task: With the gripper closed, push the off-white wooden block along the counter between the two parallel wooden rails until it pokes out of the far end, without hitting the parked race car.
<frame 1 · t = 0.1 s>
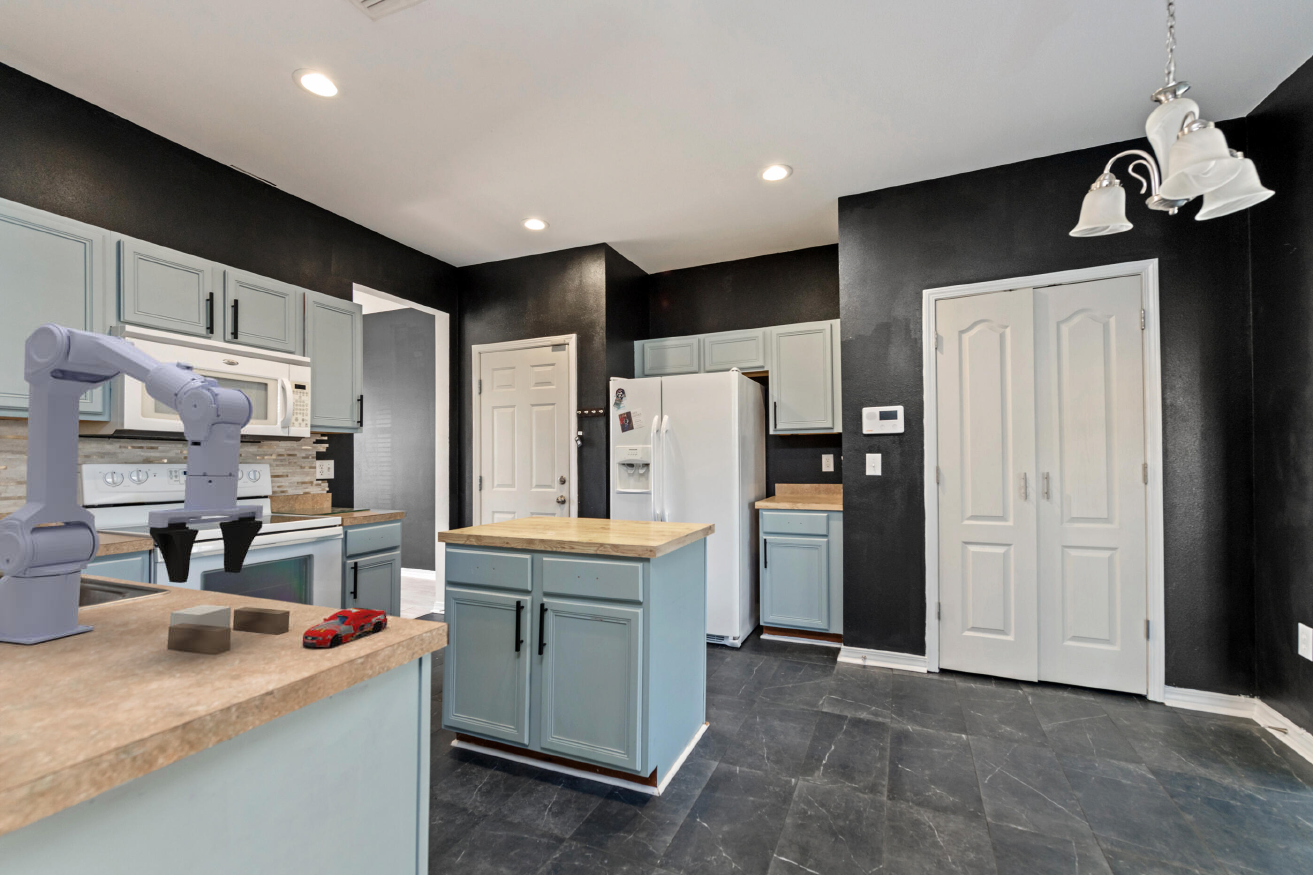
hand: (206, 576, 82), 10 cm above the counter, fingers open, 7 cm apart
race car: (345, 639, 90), on the counter
parallel wooden rails: (231, 639, 87), on the counter
off-white block: (199, 637, 89), on the counter
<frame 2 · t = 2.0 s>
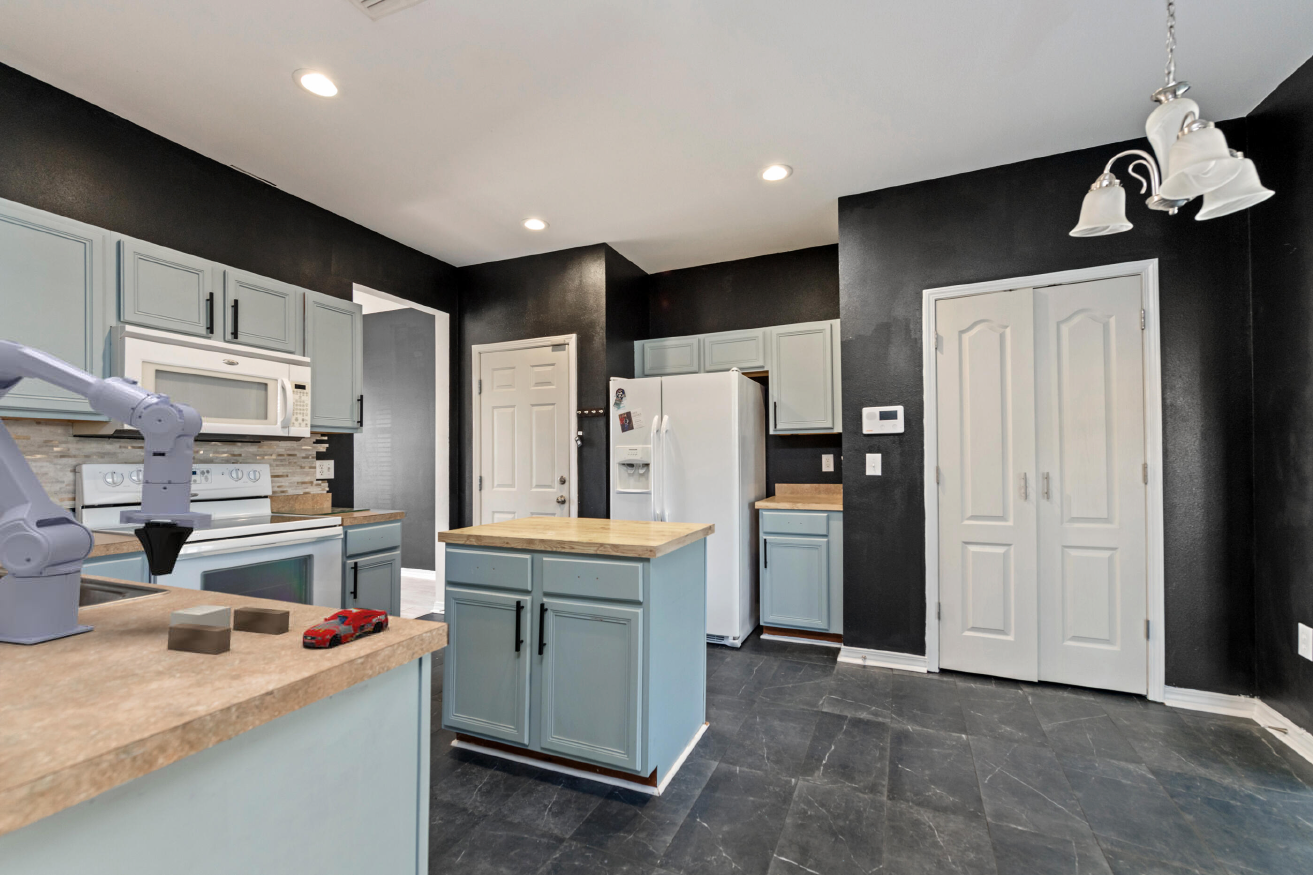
hand: (161, 574, 91), 8 cm above the counter, fingers closed
nothing on the counter moved.
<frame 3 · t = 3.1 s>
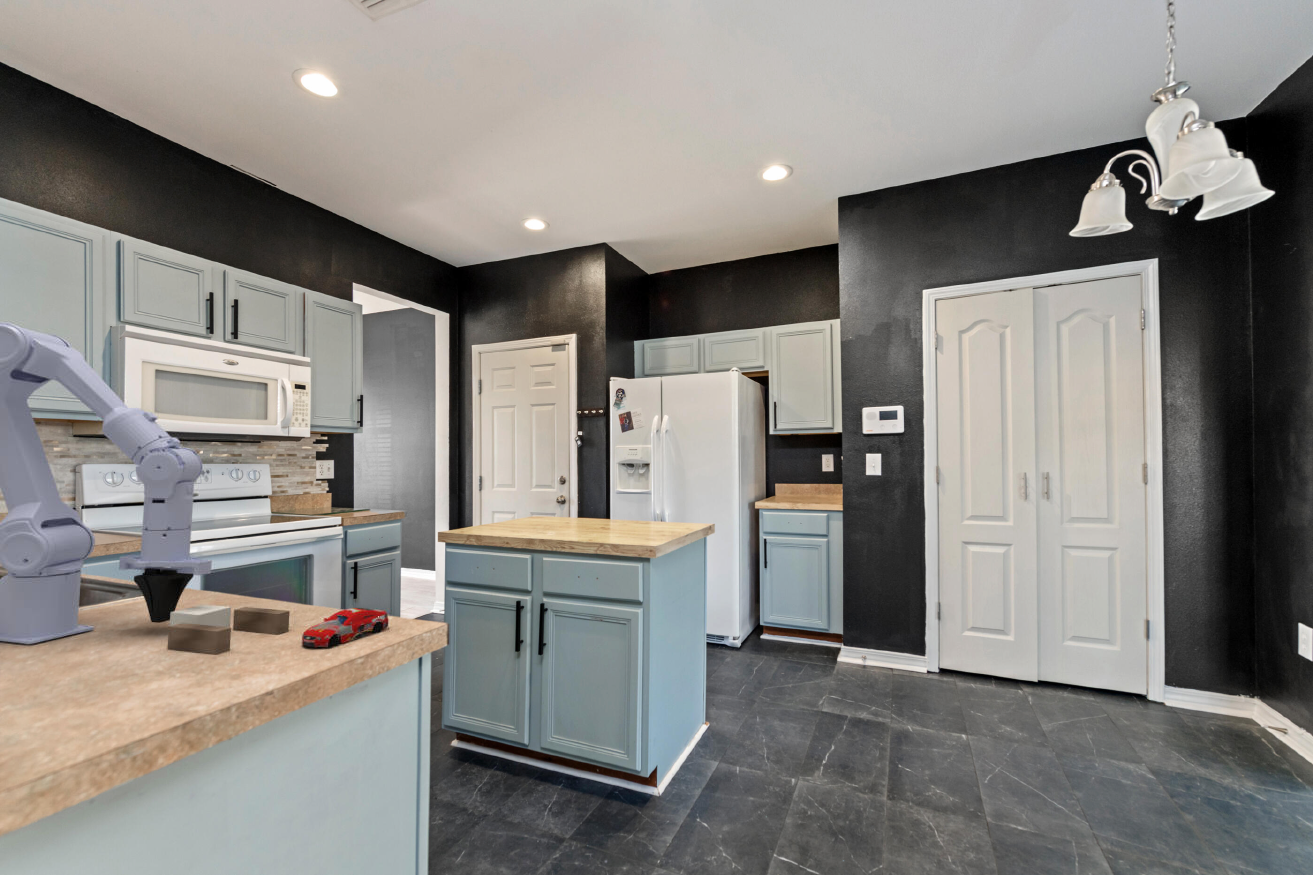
hand: (161, 620, 90), 2 cm above the counter, fingers closed
nothing on the counter moved.
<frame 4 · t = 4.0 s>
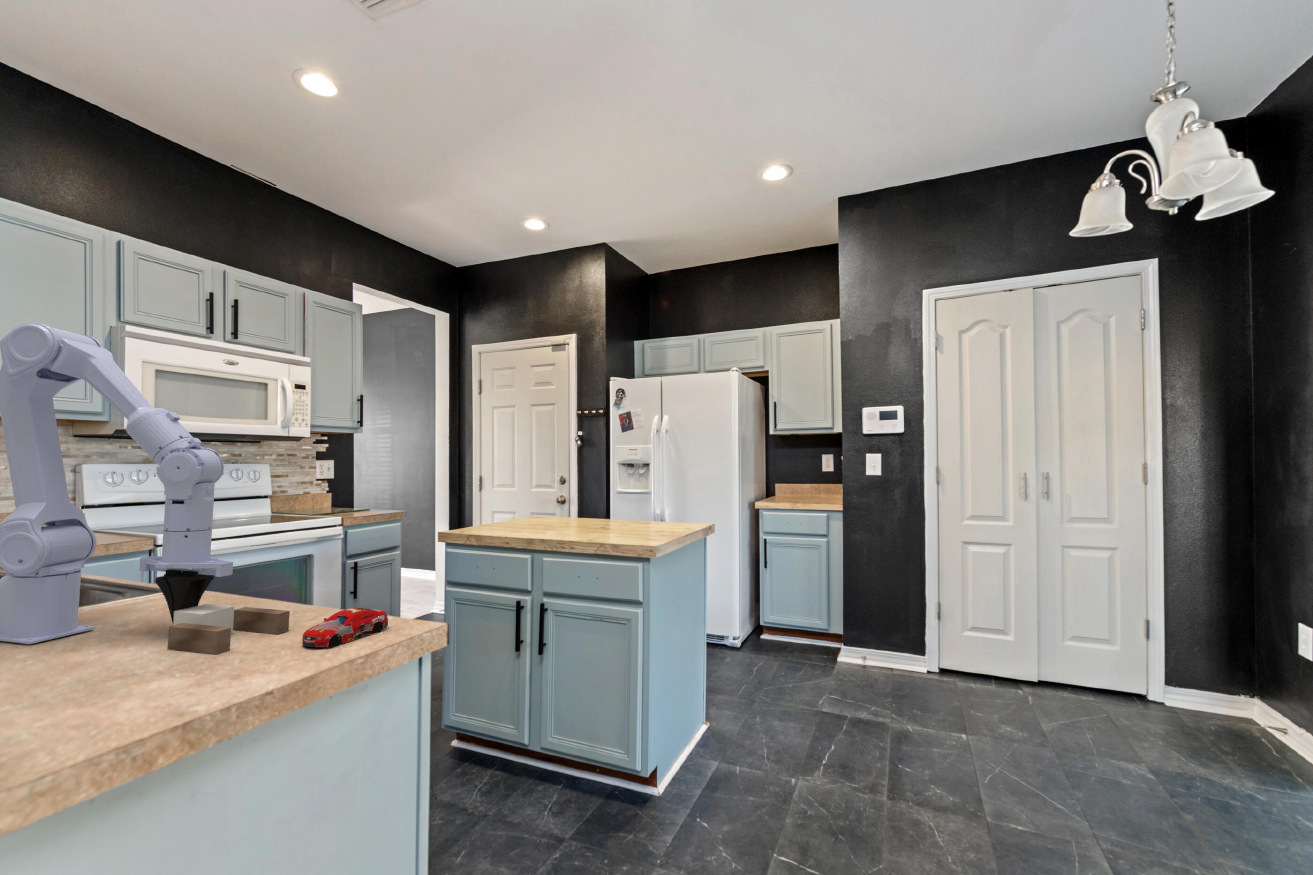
hand: (182, 622, 89), 2 cm above the counter, fingers closed
off-white block: (203, 636, 88), on the counter, touching gripper
everything else where it was.
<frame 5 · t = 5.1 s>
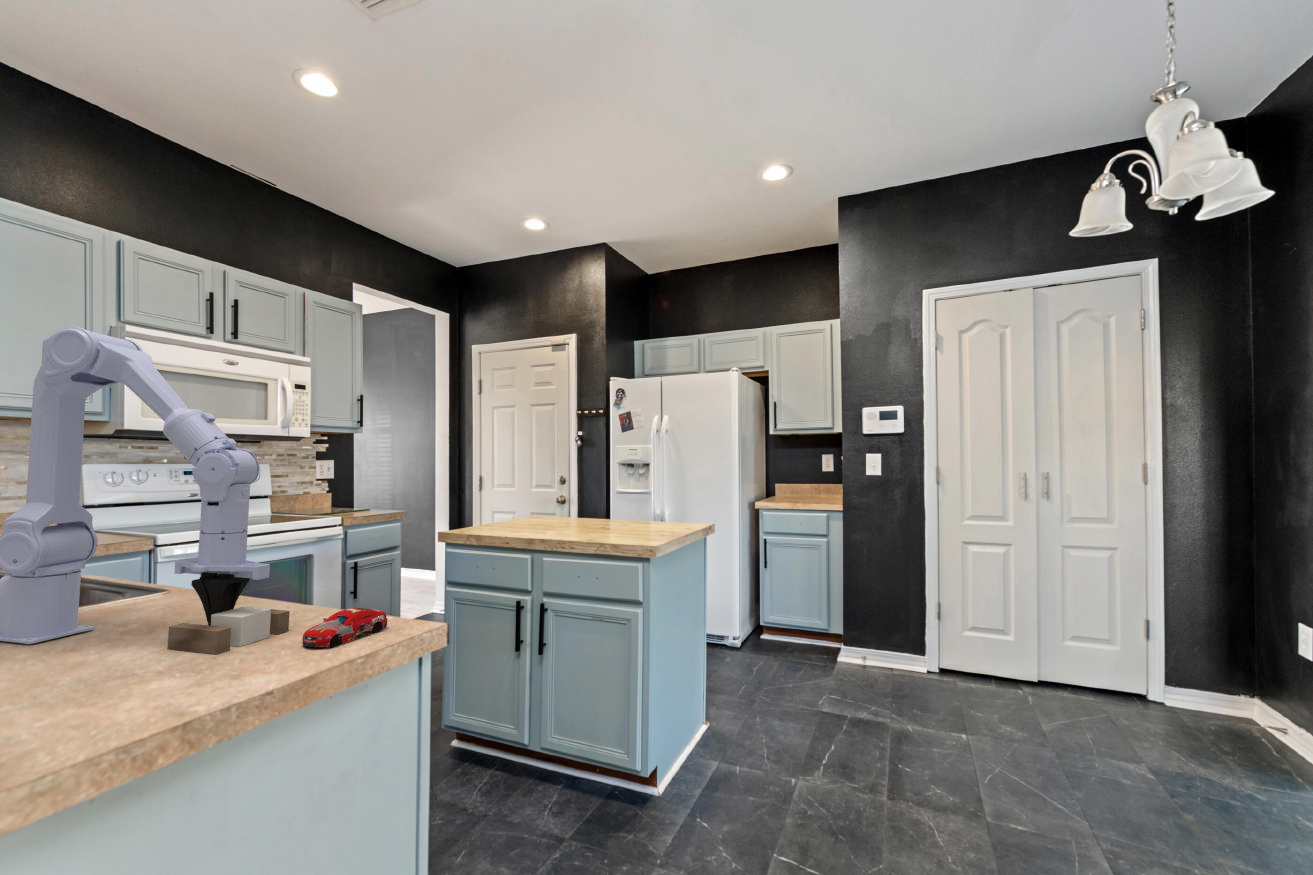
hand: (218, 626, 88), 2 cm above the counter, fingers closed
off-white block: (240, 640, 87), on the counter, touching gripper
everything else where it was.
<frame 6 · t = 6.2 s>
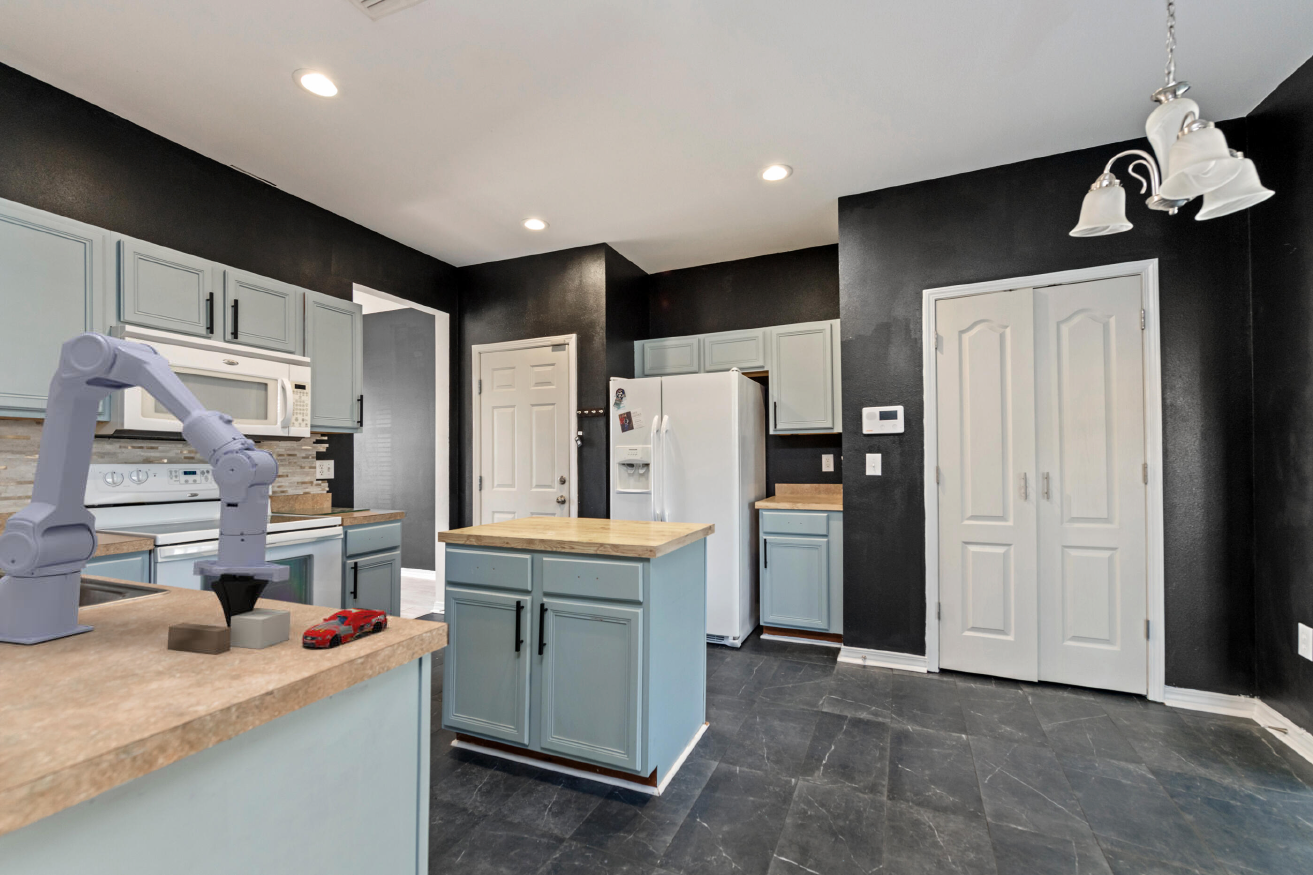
hand: (237, 628, 87), 2 cm above the counter, fingers closed
off-white block: (259, 642, 86), on the counter, touching gripper
everything else where it was.
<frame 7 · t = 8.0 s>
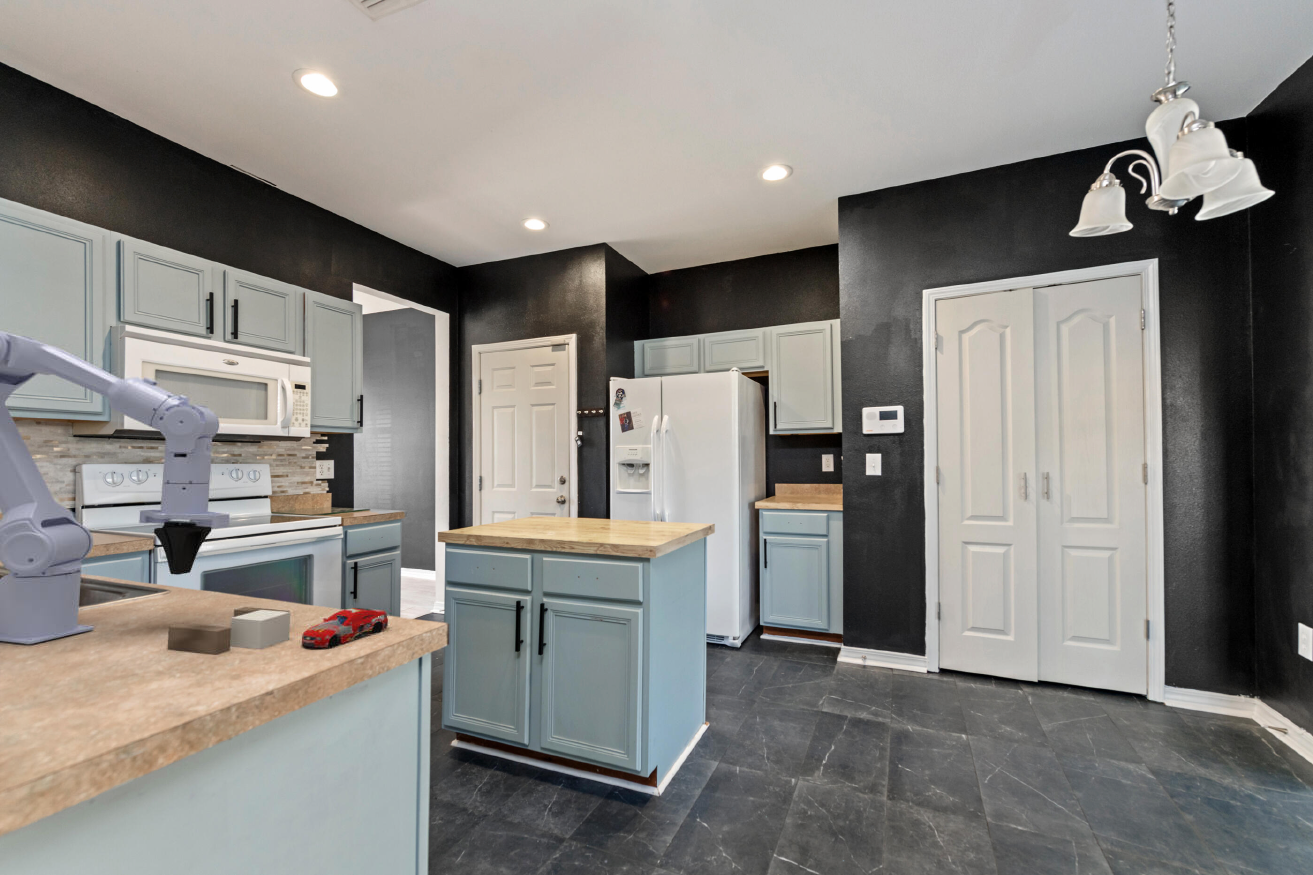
hand: (180, 573, 92), 8 cm above the counter, fingers closed
off-white block: (259, 643, 86), on the counter
everything else where it was.
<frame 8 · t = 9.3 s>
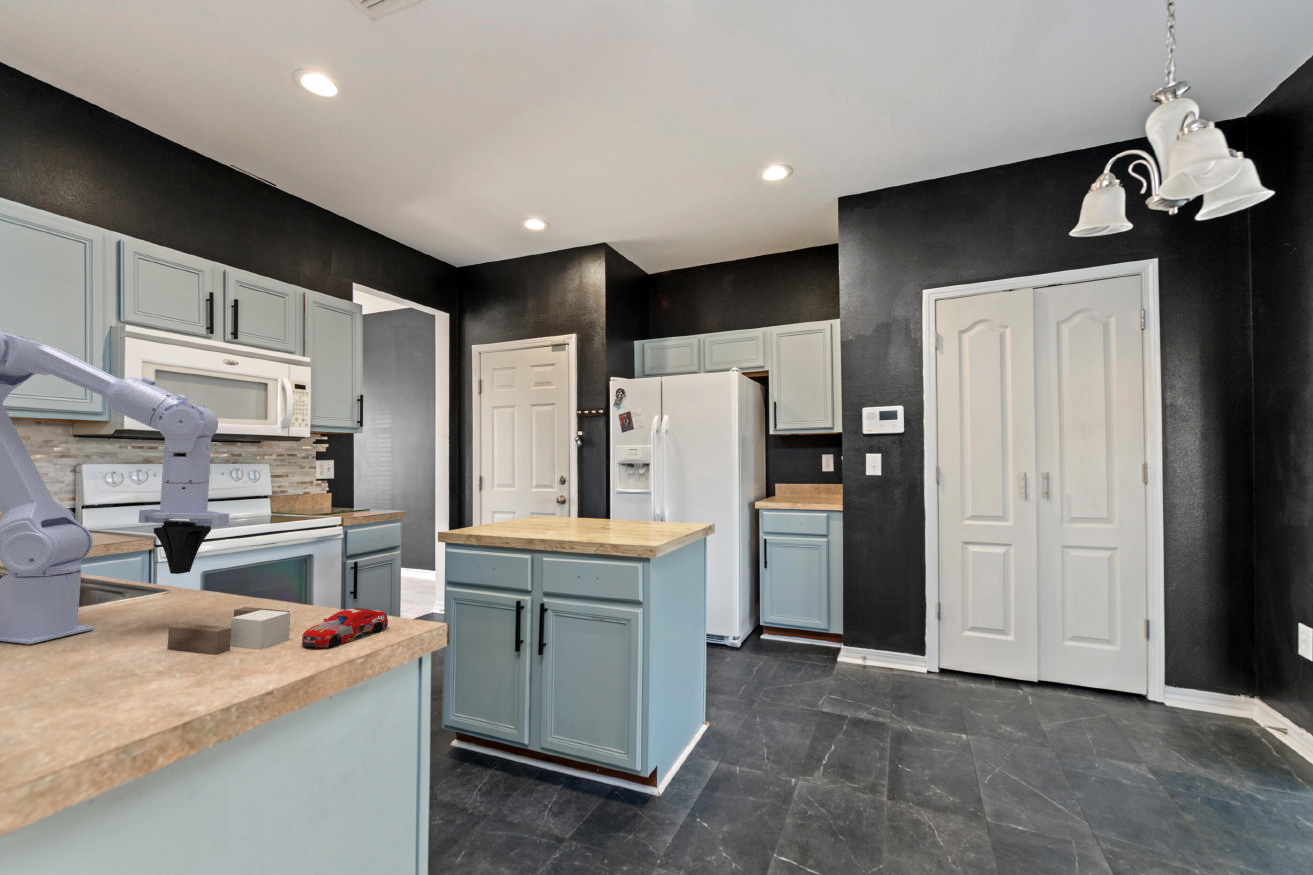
hand: (180, 572, 92), 8 cm above the counter, fingers closed
nothing on the counter moved.
at the end: off-white block 0.7 cm from the target spot, on the counter; off-white block tilted 0°; off-white block moved 10.3 cm from its start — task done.
